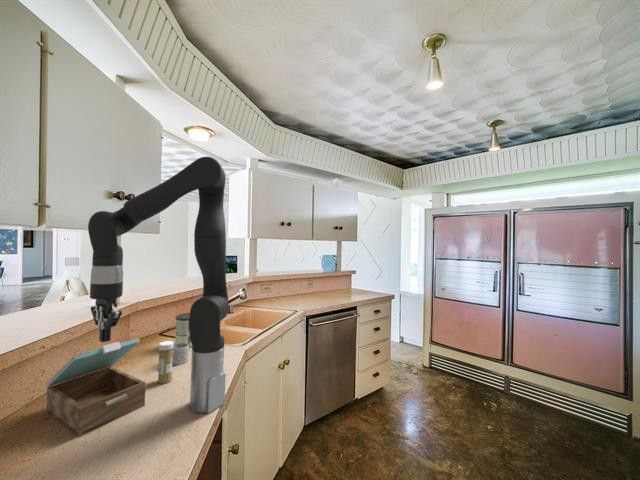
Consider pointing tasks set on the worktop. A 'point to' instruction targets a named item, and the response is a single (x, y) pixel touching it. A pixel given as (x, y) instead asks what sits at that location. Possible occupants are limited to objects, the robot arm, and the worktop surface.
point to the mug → (180, 353)
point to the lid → (92, 361)
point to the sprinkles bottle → (165, 362)
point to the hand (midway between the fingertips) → (104, 341)
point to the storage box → (94, 399)
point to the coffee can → (183, 329)
